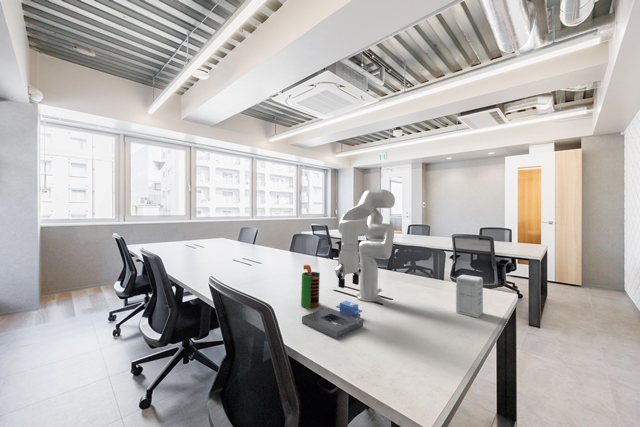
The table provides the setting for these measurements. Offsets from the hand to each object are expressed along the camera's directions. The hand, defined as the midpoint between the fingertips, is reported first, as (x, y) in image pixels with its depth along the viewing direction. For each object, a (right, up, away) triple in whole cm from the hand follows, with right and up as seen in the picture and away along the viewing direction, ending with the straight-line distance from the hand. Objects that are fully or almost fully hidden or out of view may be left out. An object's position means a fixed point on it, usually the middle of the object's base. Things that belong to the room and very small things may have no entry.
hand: (348, 285), depth 124 cm
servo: (0, -14, +1) cm, 14 cm away
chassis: (-8, -14, -10) cm, 19 cm away
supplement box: (+58, -15, +6) cm, 60 cm away
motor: (-18, -14, +14) cm, 26 cm away
